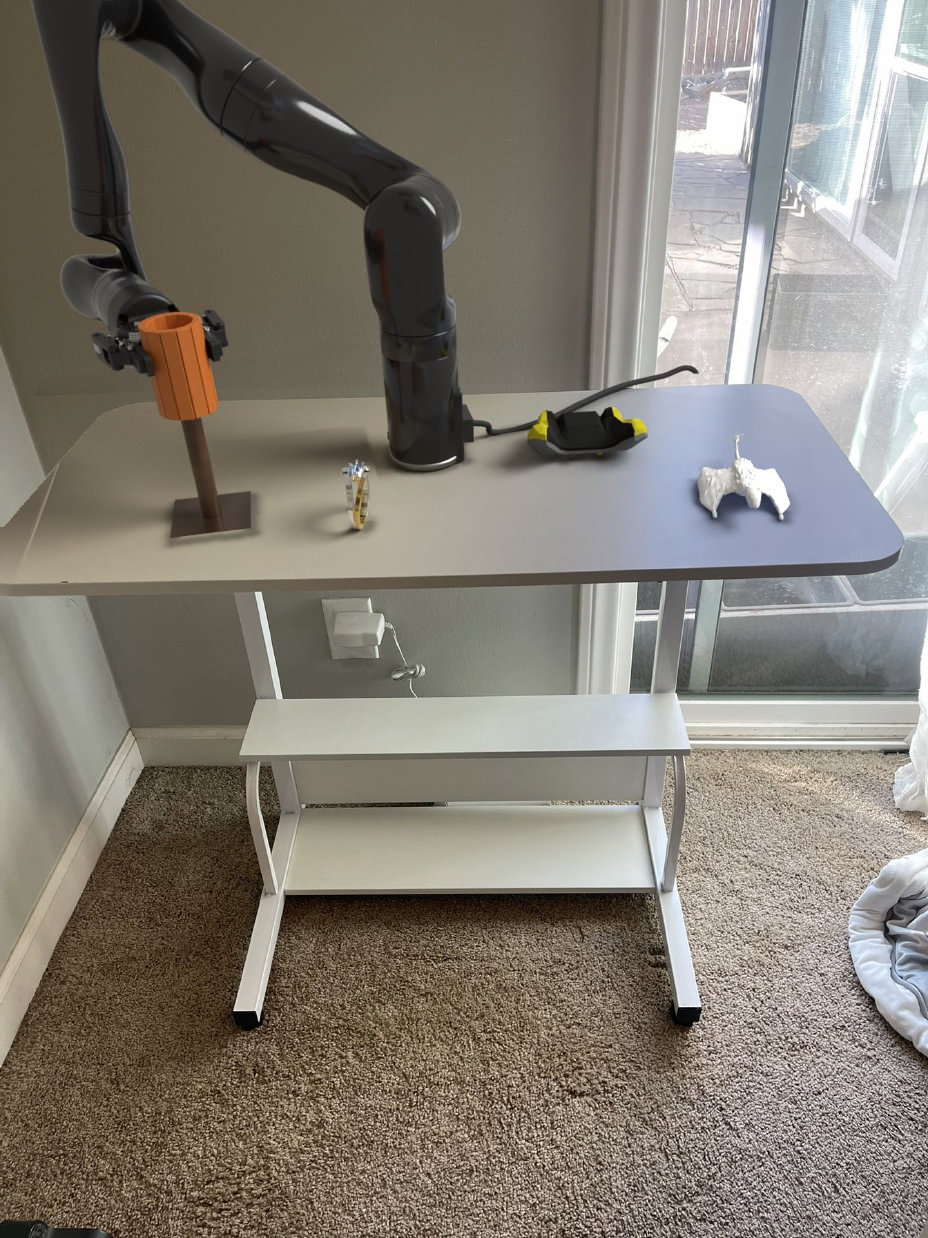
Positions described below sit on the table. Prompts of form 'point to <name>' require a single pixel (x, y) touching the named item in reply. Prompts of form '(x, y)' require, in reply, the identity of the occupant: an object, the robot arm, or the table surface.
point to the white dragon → (741, 484)
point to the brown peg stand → (207, 494)
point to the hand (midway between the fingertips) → (183, 359)
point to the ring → (362, 495)
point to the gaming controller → (585, 433)
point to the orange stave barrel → (179, 365)
